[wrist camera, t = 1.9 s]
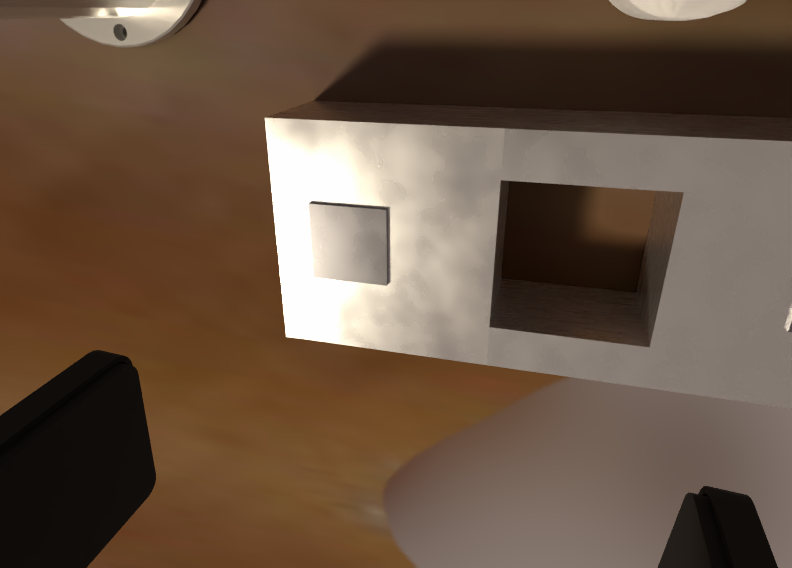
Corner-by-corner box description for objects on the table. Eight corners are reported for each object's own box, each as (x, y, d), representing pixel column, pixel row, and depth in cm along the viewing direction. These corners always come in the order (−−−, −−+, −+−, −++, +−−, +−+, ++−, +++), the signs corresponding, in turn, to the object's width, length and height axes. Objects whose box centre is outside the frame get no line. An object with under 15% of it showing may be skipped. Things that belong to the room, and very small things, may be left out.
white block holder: (313, 100, 32) (262, 118, 27) (946, 123, 25) (1050, 154, 20) (325, 291, 37) (284, 338, 32) (853, 354, 30) (916, 428, 25)
